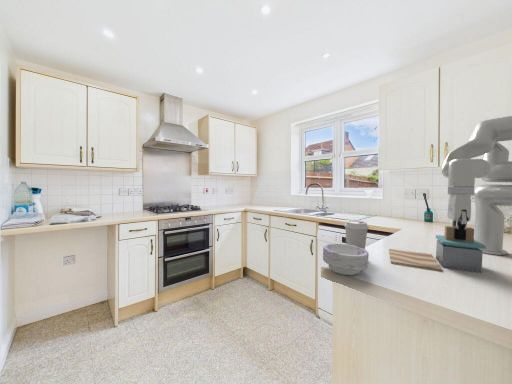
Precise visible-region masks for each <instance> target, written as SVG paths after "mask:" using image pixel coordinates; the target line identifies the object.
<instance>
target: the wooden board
mask: <svg viewBox="0 0 512 384" xmlns="http://www.w3.org/2000/svg"><path fill="white" fill-rule="evenodd" d="M388 253H389V260H390V264H394V265H399V266H400V265H401V266H408V267H413V268H418V269H424V270H431V271H437V272H438V271H439V272H443V267H442V266H441V265H440V263H439V262H438V261H437V259H436V257H434V255H433V254H432V253H425V252H418V251H410V250H405V249H403V250H402V249H397V248H388Z"/></svg>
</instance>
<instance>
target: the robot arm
mask: <svg viewBox="0 0 512 384" xmlns="http://www.w3.org/2000/svg"><path fill="white" fill-rule="evenodd" d="M506 141H507V142H508V141H512V115H508V116H503V117H498V118H491V119H486V120H481V121H479V123H477V124H476V125H475V126H474V128H473V130H472V132H471V134H470V136H469V138H468V140H467V141H466V142H465V143H463V144H461V145H460V146H457V147H456V148H454V149H453V150H451V151H450V152H449V153H448V154H447V155H446V157H445V159H444V160H443V164H442V166H441V175H442V176H443V177H445V178H447V179H448V181H447V195H449V199H448V206H447V215H446V217H447V218H448V219H449V220H451V226H456V229H455V234H454V238H455V239H459V240H466V227H467V225H468V222H470V221H471V217H472V196H473V197H474V204H475V214H474V215H475V219H474V239H475V240H477V241H478V242H480V243H482V244H483V245H485V246H486V249H481V248H479V249H481V250H482V251H483V254H488V255H497V256H506V255H508V251H507V250H505V249H503V248H504V247H503V246H504V231H505V230H504V228H505V214H504V212H503V211H502V210H501V209H500V208H499V207H500V206H502V207H503V206H504V207H512V184H482V185H478V186H477V187H475V181H476V179H481V180H482V181H484V182H488V183H512V160H510V161H509V157H510V151H509V149H508V148H506V146H504V145H503V144H501V143H500V142H506ZM481 156H482V158H478V157H481ZM498 206H499V207H498Z"/></svg>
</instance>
